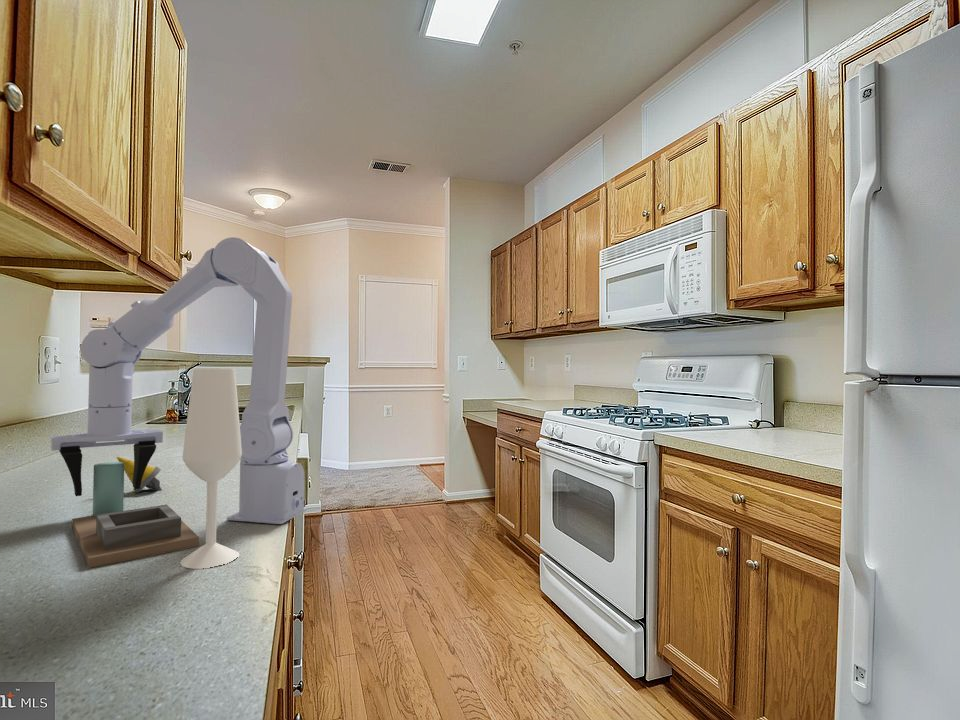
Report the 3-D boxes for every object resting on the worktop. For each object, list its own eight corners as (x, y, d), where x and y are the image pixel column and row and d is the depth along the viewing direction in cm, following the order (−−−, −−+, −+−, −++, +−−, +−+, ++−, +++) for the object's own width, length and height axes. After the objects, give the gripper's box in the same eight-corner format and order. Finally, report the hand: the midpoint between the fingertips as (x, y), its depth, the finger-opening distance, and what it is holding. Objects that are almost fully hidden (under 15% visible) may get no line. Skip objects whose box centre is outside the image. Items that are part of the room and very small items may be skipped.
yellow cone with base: (157, 497, 96) (110, 463, 93) (146, 505, 99) (99, 471, 96) (177, 475, 101) (132, 441, 97) (166, 483, 104) (122, 450, 100)
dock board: (199, 546, 71) (199, 518, 71) (88, 568, 63) (89, 537, 63) (164, 512, 86) (165, 489, 86) (72, 526, 78) (72, 501, 78)
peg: (129, 511, 86) (130, 462, 86) (108, 518, 82) (109, 467, 82) (108, 510, 87) (109, 461, 87) (86, 517, 83) (87, 466, 83)
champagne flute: (172, 570, 63) (176, 368, 63) (189, 550, 69) (193, 367, 69) (233, 566, 64) (237, 369, 64) (244, 547, 71) (248, 368, 71)
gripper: (157, 402, 92) (155, 480, 92) (50, 405, 82) (48, 492, 82) (166, 405, 87) (164, 488, 87) (53, 409, 77) (51, 502, 77)
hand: (108, 491), depth 84 cm, fingers open, 7 cm apart
